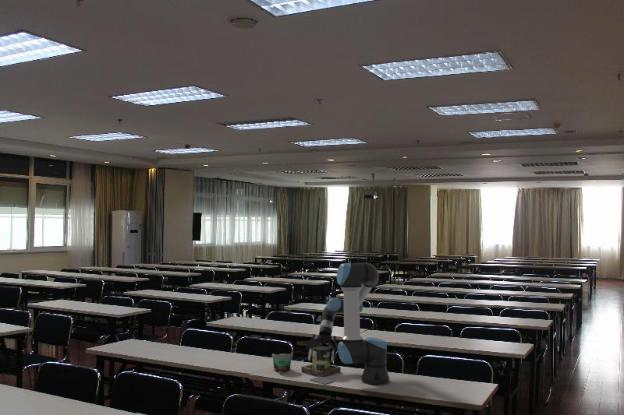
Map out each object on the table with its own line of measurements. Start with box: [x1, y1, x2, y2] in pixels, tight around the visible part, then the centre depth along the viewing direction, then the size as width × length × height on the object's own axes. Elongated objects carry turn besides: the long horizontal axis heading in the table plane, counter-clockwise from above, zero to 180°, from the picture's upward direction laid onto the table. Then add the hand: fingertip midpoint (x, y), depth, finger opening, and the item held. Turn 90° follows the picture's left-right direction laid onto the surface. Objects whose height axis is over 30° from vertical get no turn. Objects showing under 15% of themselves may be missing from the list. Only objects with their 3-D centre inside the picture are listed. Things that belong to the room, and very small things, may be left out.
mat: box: [309, 376, 336, 386], centre depth 322 cm, size 11×9×1 cm
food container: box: [271, 352, 293, 373], centre depth 342 cm, size 12×6×10 cm, turn 105°
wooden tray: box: [301, 364, 342, 378], centre depth 340 cm, size 16×16×3 cm
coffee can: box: [311, 345, 331, 371], centre depth 340 cm, size 10×10×14 cm
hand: (320, 360), depth 339 cm, fingers open, 13 cm apart
